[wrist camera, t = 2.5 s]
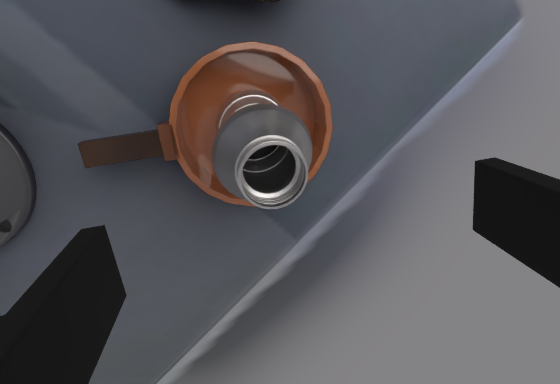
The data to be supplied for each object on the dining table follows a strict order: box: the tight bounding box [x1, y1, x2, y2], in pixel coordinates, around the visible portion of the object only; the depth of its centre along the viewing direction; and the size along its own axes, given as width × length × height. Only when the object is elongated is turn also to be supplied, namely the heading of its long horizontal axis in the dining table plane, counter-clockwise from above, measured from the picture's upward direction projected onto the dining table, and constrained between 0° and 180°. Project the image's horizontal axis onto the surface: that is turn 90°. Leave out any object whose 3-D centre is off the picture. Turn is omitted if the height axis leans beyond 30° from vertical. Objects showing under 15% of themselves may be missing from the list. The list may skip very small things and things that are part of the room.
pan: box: [169, 41, 333, 206], centre depth 36 cm, size 14×14×5 cm
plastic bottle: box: [212, 90, 313, 209], centre depth 29 cm, size 6×7×20 cm
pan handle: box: [78, 120, 179, 168], centre depth 34 cm, size 8×3×3 cm, turn 98°
